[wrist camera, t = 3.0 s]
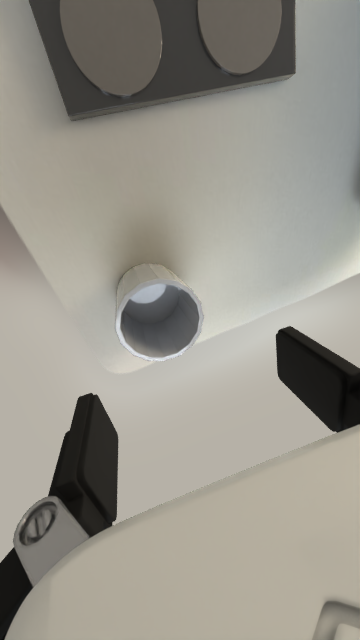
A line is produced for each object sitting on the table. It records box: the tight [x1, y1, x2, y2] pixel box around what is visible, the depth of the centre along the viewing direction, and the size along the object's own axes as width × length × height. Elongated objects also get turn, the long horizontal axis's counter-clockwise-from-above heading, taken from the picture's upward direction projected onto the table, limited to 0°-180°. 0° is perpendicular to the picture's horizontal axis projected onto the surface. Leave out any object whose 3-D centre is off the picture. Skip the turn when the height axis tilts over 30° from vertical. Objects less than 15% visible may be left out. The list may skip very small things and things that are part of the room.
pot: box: [115, 263, 204, 361], centre depth 22 cm, size 7×7×8 cm
